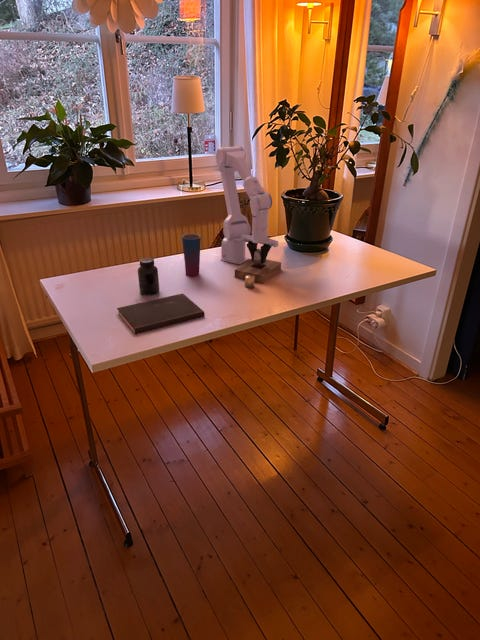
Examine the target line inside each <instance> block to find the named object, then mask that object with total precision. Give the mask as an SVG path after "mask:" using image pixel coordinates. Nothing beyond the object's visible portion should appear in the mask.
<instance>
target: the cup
mask: <svg viewBox="0 0 480 640" xmlns="http://www.w3.org/2000/svg"><path fill="white" fill-rule="evenodd" d="M181 240H182V249H183V259H184V269H185V276H187V277H189V278H195V277H198V276H200V264H201V262H200V261H201V260H200V258H201V235H200V234H198V233H185V234H183V235H182V236H181Z"/></svg>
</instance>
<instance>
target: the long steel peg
mask: <svg viewBox="0 0 480 640" xmlns="http://www.w3.org/2000/svg"><path fill="white" fill-rule="evenodd" d="M261 257H262V254H261V248H257V249H255V250H254V268H258V269H262V268H263V264H262V263H261Z"/></svg>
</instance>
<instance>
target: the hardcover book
mask: <svg viewBox="0 0 480 640" xmlns="http://www.w3.org/2000/svg"><path fill="white" fill-rule="evenodd" d="M116 309H117V311H118V314H119V315H120V316H121V318H122V319H123V320H124V322H125V323H126V324H127V325H128V326H130V327H131V328H130V327H129V328H130V329H131V330H132V332H133V333H134V332H135V333H134V335H138V333H139V334H142V332H143V333H147V332H151V331H154V330H159V329H162V327H163V328H165V327H166V326H167V327H171V326H174V325H178V324H182V323H185V322H189V320H190V321H193V319H194V320H197V318H198V319H201V317H202V318H205V314H206V313H205V311H204V310H203V309H202V308H200V307H199V305H197V304H196V303H195V302H194V301H193V300H191V298H189V297H188V296H187V295H186V294H184V293H178V294H175V295H174V294H173V295H170V296H166V297H160V298H155V299H151V300H148V301H147V300H146V301H143V302H139V303H134V304H133V303H132V304H129V305H125V306H120V307H117V308H116Z"/></svg>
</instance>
